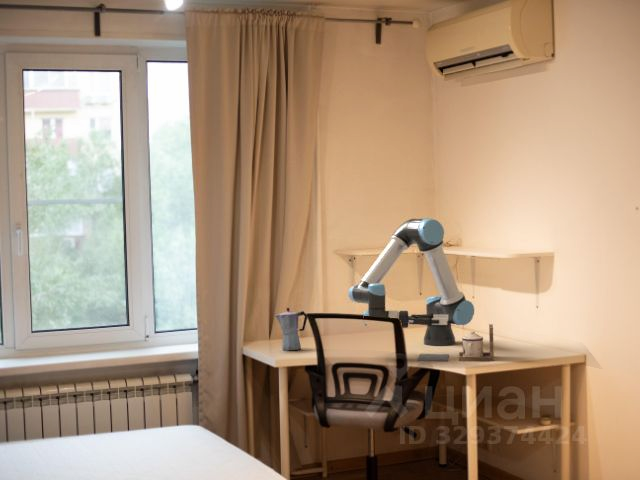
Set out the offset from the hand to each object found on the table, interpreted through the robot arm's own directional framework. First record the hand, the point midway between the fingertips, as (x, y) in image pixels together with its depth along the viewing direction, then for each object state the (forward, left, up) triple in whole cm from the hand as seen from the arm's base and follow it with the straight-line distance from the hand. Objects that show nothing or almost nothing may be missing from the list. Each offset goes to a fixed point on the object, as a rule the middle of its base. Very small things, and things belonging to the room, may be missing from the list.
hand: (447, 319), depth 373 cm
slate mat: (0, -7, -17) cm, 18 cm away
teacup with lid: (0, +10, -17) cm, 20 cm away
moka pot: (-22, -75, -17) cm, 80 cm away
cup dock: (0, +12, -17) cm, 21 cm away
